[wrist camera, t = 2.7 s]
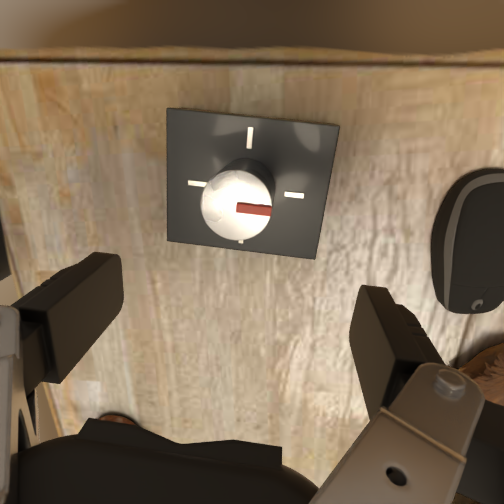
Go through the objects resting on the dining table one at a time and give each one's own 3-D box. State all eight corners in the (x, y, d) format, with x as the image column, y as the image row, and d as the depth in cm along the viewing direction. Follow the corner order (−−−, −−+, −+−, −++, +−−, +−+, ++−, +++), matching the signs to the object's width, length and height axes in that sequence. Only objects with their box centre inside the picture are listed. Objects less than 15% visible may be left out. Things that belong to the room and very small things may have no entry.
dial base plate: (177, 229, 30) (166, 242, 27) (178, 107, 26) (165, 107, 23) (312, 246, 29) (315, 261, 26) (334, 123, 25) (340, 125, 23)
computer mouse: (421, 307, 31) (439, 334, 27) (439, 170, 26) (463, 180, 22) (504, 306, 30) (535, 334, 26) (538, 165, 25) (581, 174, 21)
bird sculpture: (358, 392, 38) (362, 434, 34) (618, 264, 26) (675, 306, 21) (396, 422, 39) (405, 466, 35) (660, 315, 27) (722, 364, 23)
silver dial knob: (214, 213, 26) (197, 237, 21) (217, 155, 24) (200, 166, 19) (271, 220, 26) (267, 246, 21) (279, 161, 24) (276, 175, 19)
